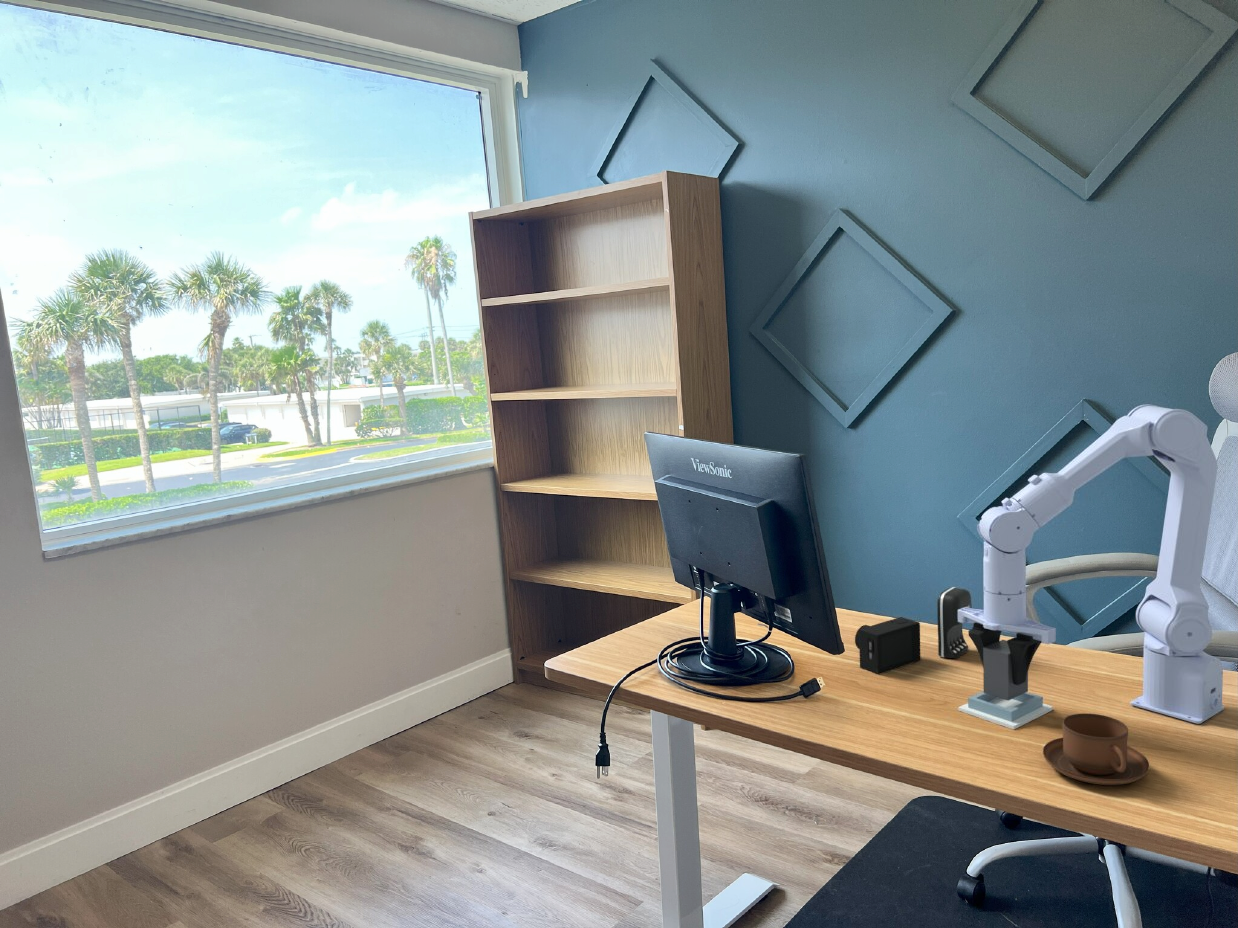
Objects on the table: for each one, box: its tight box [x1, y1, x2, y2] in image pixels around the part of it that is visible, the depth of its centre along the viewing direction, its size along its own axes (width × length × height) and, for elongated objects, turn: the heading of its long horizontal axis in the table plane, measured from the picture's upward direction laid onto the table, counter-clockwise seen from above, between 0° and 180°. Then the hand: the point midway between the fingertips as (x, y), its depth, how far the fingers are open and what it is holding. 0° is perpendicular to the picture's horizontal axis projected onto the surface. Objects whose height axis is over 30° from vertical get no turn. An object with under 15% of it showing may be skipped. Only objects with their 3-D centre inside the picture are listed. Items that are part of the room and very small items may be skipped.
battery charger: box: [936, 586, 973, 659], centre depth 159 cm, size 7×4×11 cm, turn 137°
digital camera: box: [854, 616, 921, 676], centre depth 157 cm, size 10×5×7 cm, turn 121°
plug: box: [982, 639, 1029, 701], centre depth 135 cm, size 4×5×7 cm
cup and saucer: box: [1042, 712, 1150, 786], centre depth 116 cm, size 12×12×6 cm
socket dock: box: [957, 690, 1054, 730], centre depth 135 cm, size 9×10×2 cm
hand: (1005, 678), depth 135 cm, fingers closed on plug, 4 cm apart
